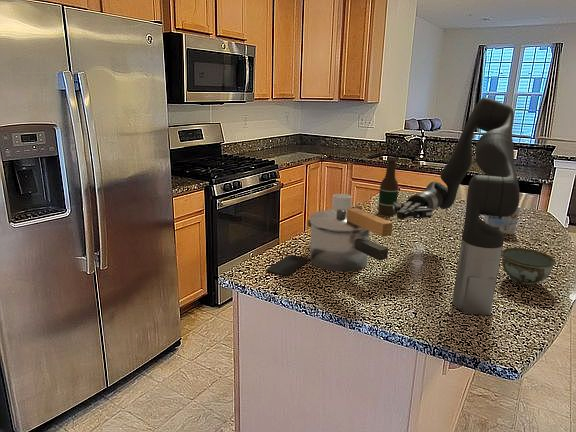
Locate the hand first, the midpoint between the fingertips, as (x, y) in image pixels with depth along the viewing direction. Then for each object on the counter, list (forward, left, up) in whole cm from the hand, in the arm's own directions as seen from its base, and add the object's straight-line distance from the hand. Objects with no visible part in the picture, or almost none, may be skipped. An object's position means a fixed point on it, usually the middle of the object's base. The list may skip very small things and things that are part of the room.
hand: (400, 215), depth 124 cm
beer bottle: (+63, -3, -17) cm, 65 cm away
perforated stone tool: (+41, +13, -17) cm, 46 cm away
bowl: (-1, -36, -17) cm, 40 cm away
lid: (0, +14, -5) cm, 14 cm away
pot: (+2, +15, -17) cm, 23 cm away
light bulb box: (+48, -45, -17) cm, 68 cm away
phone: (-3, +32, -18) cm, 36 cm away
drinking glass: (+29, +17, -17) cm, 37 cm away
